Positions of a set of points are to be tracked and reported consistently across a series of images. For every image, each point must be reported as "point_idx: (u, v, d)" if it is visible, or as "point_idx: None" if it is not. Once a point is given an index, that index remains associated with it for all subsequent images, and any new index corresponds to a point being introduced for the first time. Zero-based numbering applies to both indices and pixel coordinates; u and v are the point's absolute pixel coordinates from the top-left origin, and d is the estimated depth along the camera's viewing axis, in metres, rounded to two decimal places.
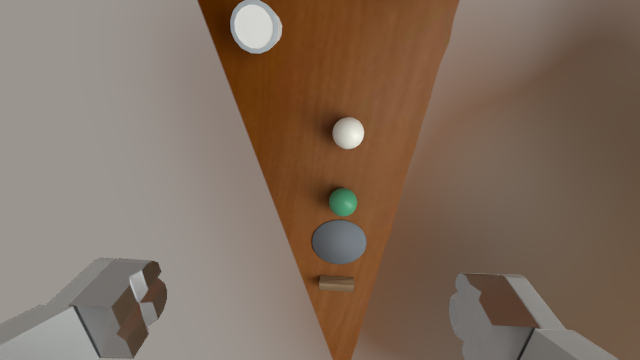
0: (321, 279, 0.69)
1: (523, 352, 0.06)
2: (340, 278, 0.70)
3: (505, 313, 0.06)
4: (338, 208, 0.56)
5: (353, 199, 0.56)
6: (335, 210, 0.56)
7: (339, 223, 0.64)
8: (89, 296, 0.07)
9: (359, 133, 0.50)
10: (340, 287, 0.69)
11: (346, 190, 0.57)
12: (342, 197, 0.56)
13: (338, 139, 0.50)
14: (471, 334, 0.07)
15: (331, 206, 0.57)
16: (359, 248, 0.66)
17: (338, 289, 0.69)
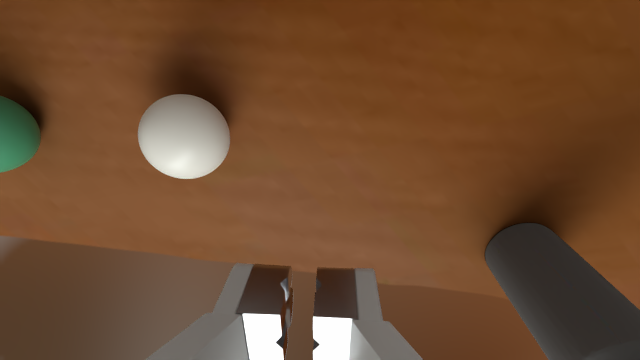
0: None
1: (350, 342, 0.06)
2: None
3: (333, 305, 0.06)
4: None
5: None
6: None
7: None
8: (251, 304, 0.06)
9: (188, 173, 0.19)
10: None
11: (21, 141, 0.20)
12: None
13: (154, 121, 0.17)
14: None
15: None
16: None
17: None
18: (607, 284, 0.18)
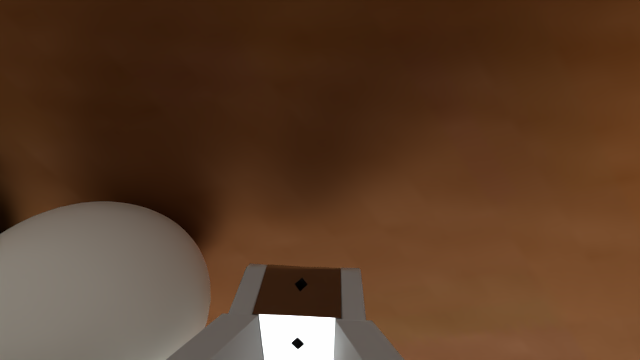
0: None
1: (334, 342, 0.06)
2: None
3: (318, 304, 0.06)
4: None
5: None
6: None
7: None
8: (267, 304, 0.06)
9: None
10: None
11: None
12: None
13: None
14: None
15: None
16: None
17: None
18: None
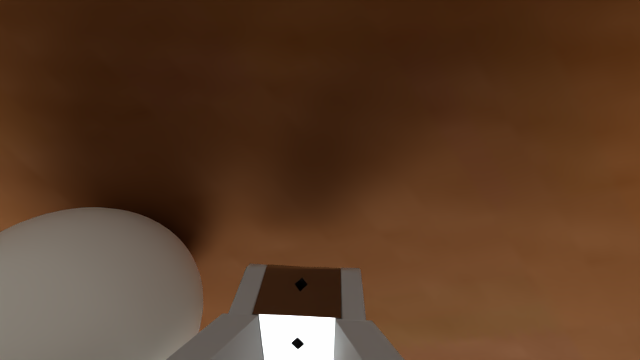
0: None
1: (334, 342, 0.06)
2: None
3: (318, 304, 0.06)
4: None
5: None
6: None
7: None
8: (267, 304, 0.06)
9: None
10: None
11: None
12: None
13: None
14: None
15: None
16: None
17: None
18: None
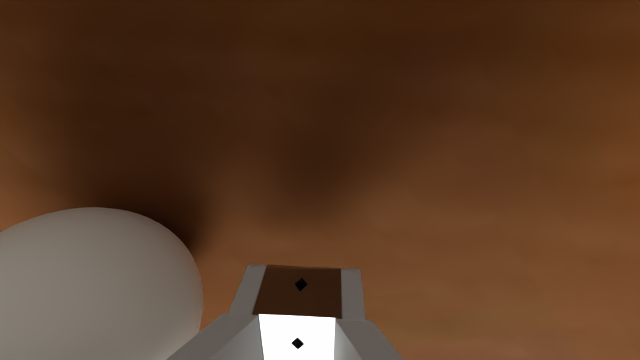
0: None
1: (334, 342, 0.06)
2: None
3: (318, 304, 0.06)
4: None
5: None
6: None
7: None
8: (267, 304, 0.06)
9: None
10: None
11: None
12: None
13: None
14: None
15: None
16: None
17: None
18: None
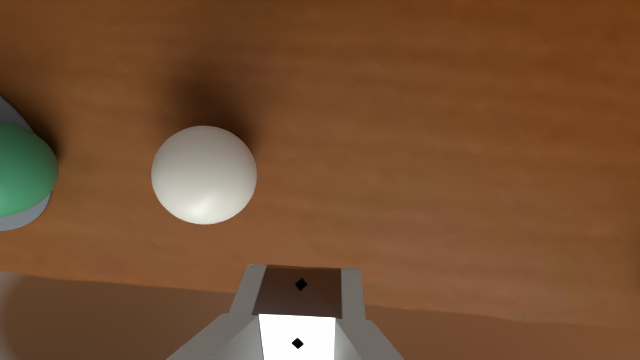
0: None
1: (334, 341, 0.06)
2: None
3: (318, 304, 0.06)
4: None
5: None
6: None
7: None
8: (266, 305, 0.06)
9: None
10: None
11: None
12: None
13: None
14: None
15: None
16: None
17: None
18: None
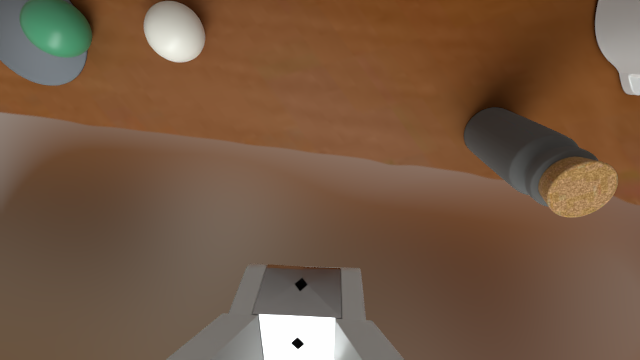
0: None
1: (334, 342, 0.06)
2: None
3: (317, 305, 0.06)
4: None
5: None
6: None
7: None
8: (267, 304, 0.06)
9: None
10: None
11: None
12: None
13: None
14: None
15: None
16: (37, 73, 0.35)
17: None
18: None
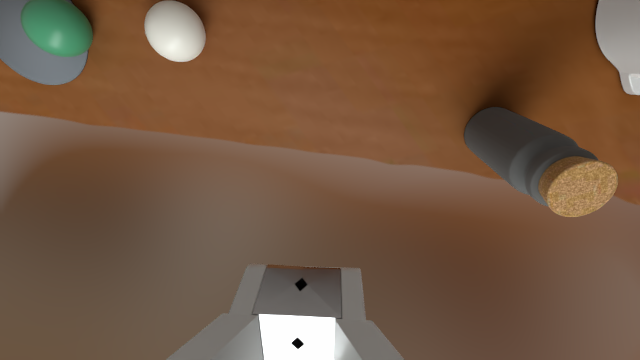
0: None
1: (334, 341, 0.06)
2: None
3: (318, 304, 0.06)
4: None
5: None
6: None
7: None
8: (267, 304, 0.06)
9: None
10: None
11: (24, 31, 0.29)
12: None
13: None
14: None
15: None
16: (38, 73, 0.35)
17: None
18: None
